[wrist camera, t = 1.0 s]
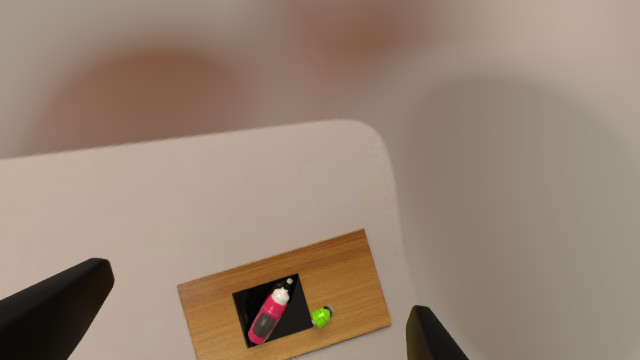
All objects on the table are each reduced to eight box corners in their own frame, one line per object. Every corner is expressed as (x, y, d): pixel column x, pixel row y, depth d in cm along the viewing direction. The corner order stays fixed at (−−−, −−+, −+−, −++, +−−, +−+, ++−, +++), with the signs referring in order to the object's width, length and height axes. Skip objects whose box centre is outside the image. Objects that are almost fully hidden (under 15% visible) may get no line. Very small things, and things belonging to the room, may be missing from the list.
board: (390, 323, 20) (398, 333, 18) (206, 384, 19) (198, 400, 17) (363, 228, 20) (368, 231, 18) (178, 285, 19) (167, 293, 18)
